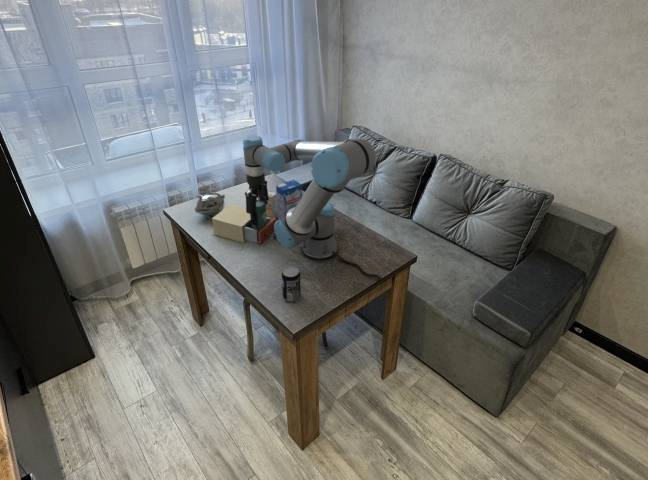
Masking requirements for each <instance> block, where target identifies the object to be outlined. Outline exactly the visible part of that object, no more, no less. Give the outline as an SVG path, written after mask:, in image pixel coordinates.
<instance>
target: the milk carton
mask: <svg viewBox="0 0 648 480" xmlns="http://www.w3.org/2000/svg"><path fill="white" fill-rule="evenodd" d="M275 191H276V192H275V193H277V212H278V216H277V221H278V220H281V219H283V218H284V217H285V216H286V214H287V212H288V211H289V210H290V209H292V208H294V207H296V206H297V204H298V203H299V201H300V199H301V198H302V196H303V184H302V183H300V182H298V181H297V180H295V179H291V180H289V181H285V182H283V183H280V184H276V185H275Z"/></svg>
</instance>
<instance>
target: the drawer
mask: <svg viewBox="0 0 648 480" xmlns="http://www.w3.org/2000/svg"><path fill="white" fill-rule="evenodd" d="M266 222H267V224H266V225H265V226H264V227H263V228H262V229H261V230H260V231H259V232H258V233H257V230H255V229H252V224H251V221H250V222H249V223H247V224H246V225H245V226H244V227H243V233H244V239H246V241H248V242H252V243H256V244H258V245H259V246H263V245H264V244H265V243H266V242H267V241H268V240H269V239H270V238H272V239H273V240H276V239H277V237H276V234H275V231H274V224H275V222H277V217H276V218H273V219H272V220H271V219H270V218H268V217H266Z"/></svg>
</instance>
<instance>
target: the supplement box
mask: <svg viewBox="0 0 648 480" xmlns="http://www.w3.org/2000/svg"><path fill="white" fill-rule="evenodd" d="M265 198H266V197H265ZM268 198H269V200H268V201H266V202H268V204H266V217H268V218H270V221H271V220H272V219H273V218H276V219H277V218H278V212H277V193H276V192H274V191H270V190H268ZM257 200H259V197H258V198H257Z"/></svg>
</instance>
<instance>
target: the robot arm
mask: <svg viewBox="0 0 648 480" xmlns="http://www.w3.org/2000/svg"><path fill="white" fill-rule="evenodd" d="M242 150H243V159H244V165H245V166H244V167H245V180H246V183H247V184H248V191H245V192H244V196H245V208H246V213H249V214H250V218H251V224H252V225H255V226H257V225H258V223H257V212H255V210H256V202H257V200H258V197H259V200H262V201H264V202H265V208H266V204H268V202H266V201H268V200H269V198H268V191H269V190H268V180H266V175H265V171H266V170H268V171H271V172H273V173H276V172H279V171H281V170H282V169H283V168H284V166H285V165H287V164H288V163H291V162H295V161H304V162H305V161H307V162H311V165H310V167H311V176H312V178H313V179H312V181H311V182H310V184H309V185H308V187H307V189H306V190H305V191H304V193H303V194H302V198H301V199H300V201H299V203H298V204H297V206H296V207H294V208H292V209H290V210H289V211H288V212H287V214H286V216H285V217H284V218H283V219H281V220H278V219H277V220H276V222H275V224H274V231H275V233H274V235H275V234H276V237H277V238H276V239H277V240H278V242H279V243H280V244H281V245H282V246H283V247H285V248H286V249H292V248H295V247H296V246H298V245H300V244H301V251H302V253H303V255H304V256H305V257H307V258H309V259H312V260H317V261H318V260H320V261H321V260H323V261H324V260H327V259H330V258H332V257H333V256H336V257H337V258H338V259H339V260H340V261H342V262H343V263H346V264H349V265H353V266H354V267H356V268H357V269H359V271H360V272H361V273H362V274H363V275H365V276H367V277H374V278H377V279H378V280H379V281H380V282H382V281H383V278H382V277H381V276H379V274H375V273H373V274H372V273H368V272H366V271H365V270H364V269H363V268H362V267H361V266H360V265H359V264H357V263H356V262H353V261H351V260H347V259H345V258H343V257H342V256H340V254H339V253H337V252H338V245H337V240H336V237H335V235H334V226H335V224H334V223H335V206H334V205H333V204H332V203H331V202H330V200H331V199H332V198H333V196H334V195H335V194H338V193H341V192H342V191H344V189H345V188H346V186H348V184H349V182H350V181H352V180H353V179H355V178H358V177H360V176H362V175H365V174H367V173H368V172H369V171H370V170H371V169H372V168H373V166H374V165H375V162H376V157H377V155H376V150H375V148H374V146H373V145H372V143H371V142H369V141H368V140H366V139H364V138H349V139H348V138H347V139H345V140H344V141H307V140H305V139H304V138H299V139H294V140H292V141H288V142H286V143H282V144H278V145H276V146H272V147H268V146H265V145H264V141H263V138H262V136H260V135H255V134H254V135H253V134H251V135H246V136H245V137H244V138H243V139H242ZM265 197H266V198H265Z"/></svg>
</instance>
